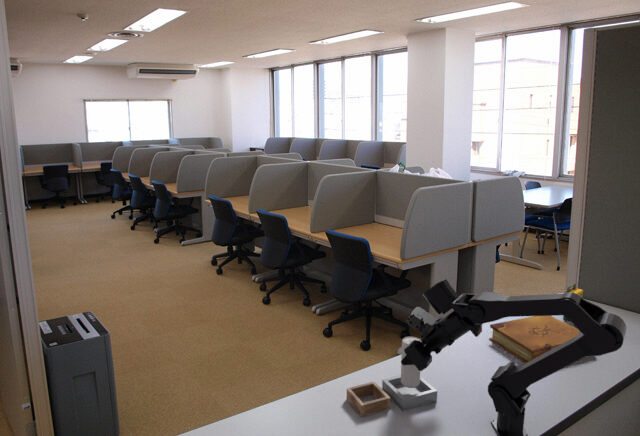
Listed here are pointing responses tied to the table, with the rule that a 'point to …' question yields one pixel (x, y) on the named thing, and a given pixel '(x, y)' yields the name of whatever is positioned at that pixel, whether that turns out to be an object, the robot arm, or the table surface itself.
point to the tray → (409, 393)
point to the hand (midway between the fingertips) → (406, 358)
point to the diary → (531, 336)
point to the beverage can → (409, 367)
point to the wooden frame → (371, 406)
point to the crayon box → (574, 290)
